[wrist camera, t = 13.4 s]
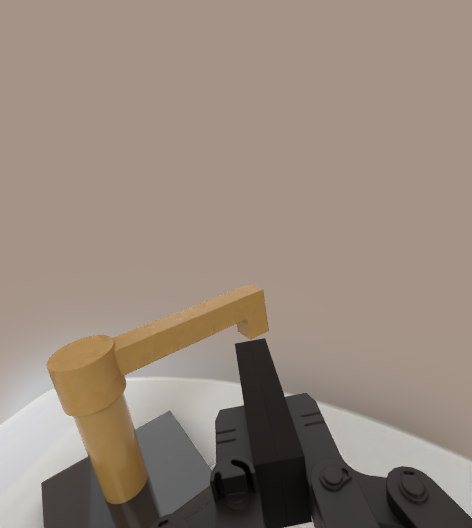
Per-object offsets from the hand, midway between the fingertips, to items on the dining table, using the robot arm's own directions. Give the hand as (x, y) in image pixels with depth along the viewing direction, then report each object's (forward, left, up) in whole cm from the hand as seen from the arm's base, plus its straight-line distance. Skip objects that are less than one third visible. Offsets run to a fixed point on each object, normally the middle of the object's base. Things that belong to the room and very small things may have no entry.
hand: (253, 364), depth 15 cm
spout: (0, -12, -6) cm, 13 cm away
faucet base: (+7, -12, -15) cm, 20 cm away
